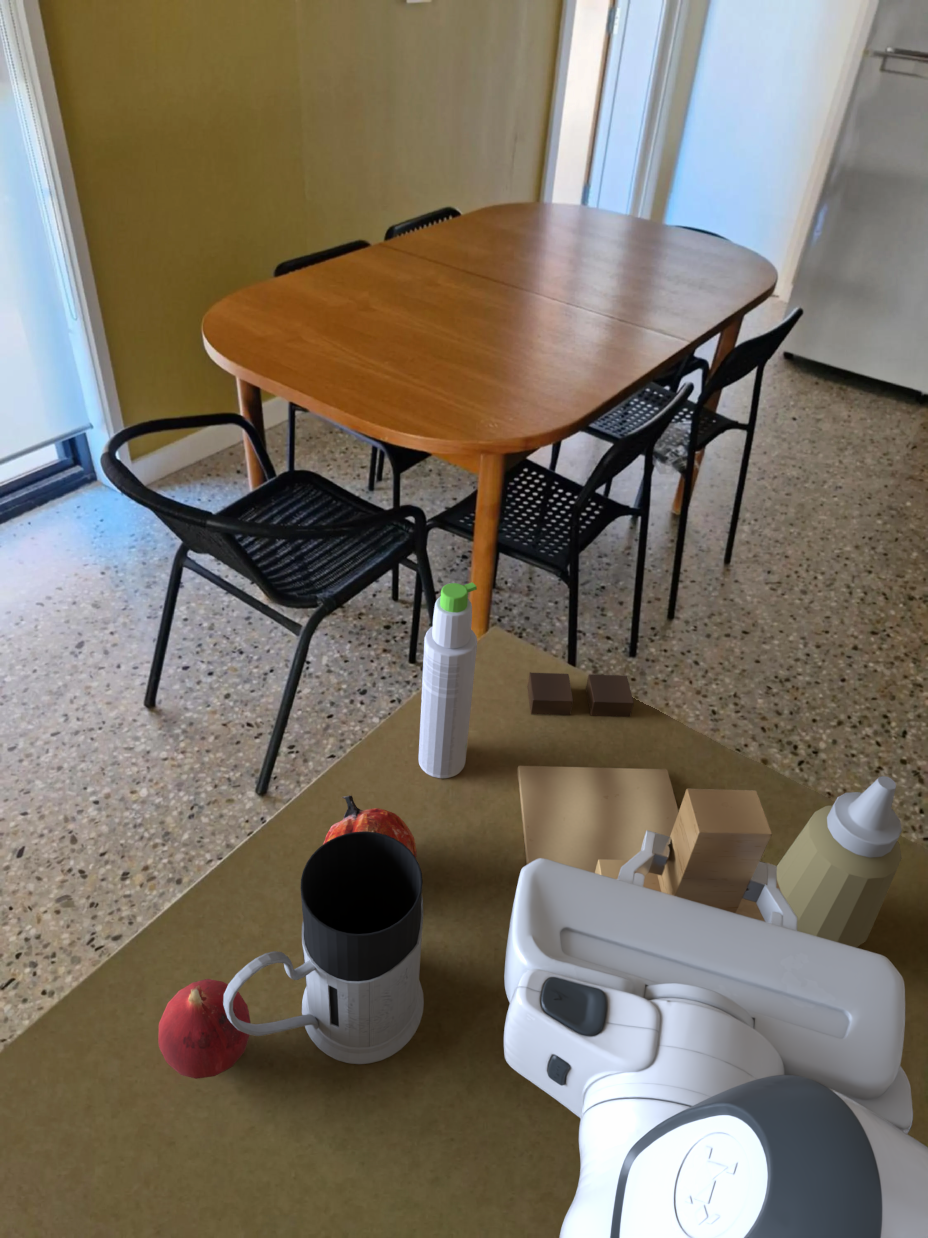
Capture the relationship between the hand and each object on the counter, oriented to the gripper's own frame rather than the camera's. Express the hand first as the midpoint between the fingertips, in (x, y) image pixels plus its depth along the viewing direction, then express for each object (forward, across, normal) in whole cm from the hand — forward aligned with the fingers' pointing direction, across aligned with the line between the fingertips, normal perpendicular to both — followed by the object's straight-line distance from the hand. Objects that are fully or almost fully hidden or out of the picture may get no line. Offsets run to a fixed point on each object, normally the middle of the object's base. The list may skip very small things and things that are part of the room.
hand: (706, 853), depth 52 cm
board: (+13, +4, +20) cm, 24 cm away
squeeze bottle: (+12, -12, +20) cm, 26 cm away
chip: (+30, +14, +20) cm, 39 cm away
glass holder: (-8, +21, +20) cm, 30 cm away
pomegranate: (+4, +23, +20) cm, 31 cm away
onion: (-12, +28, +20) cm, 36 cm away
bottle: (+19, +21, +20) cm, 35 cm away
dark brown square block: (+32, +8, +20) cm, 38 cm away
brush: (-1, 0, +6) cm, 6 cm away
